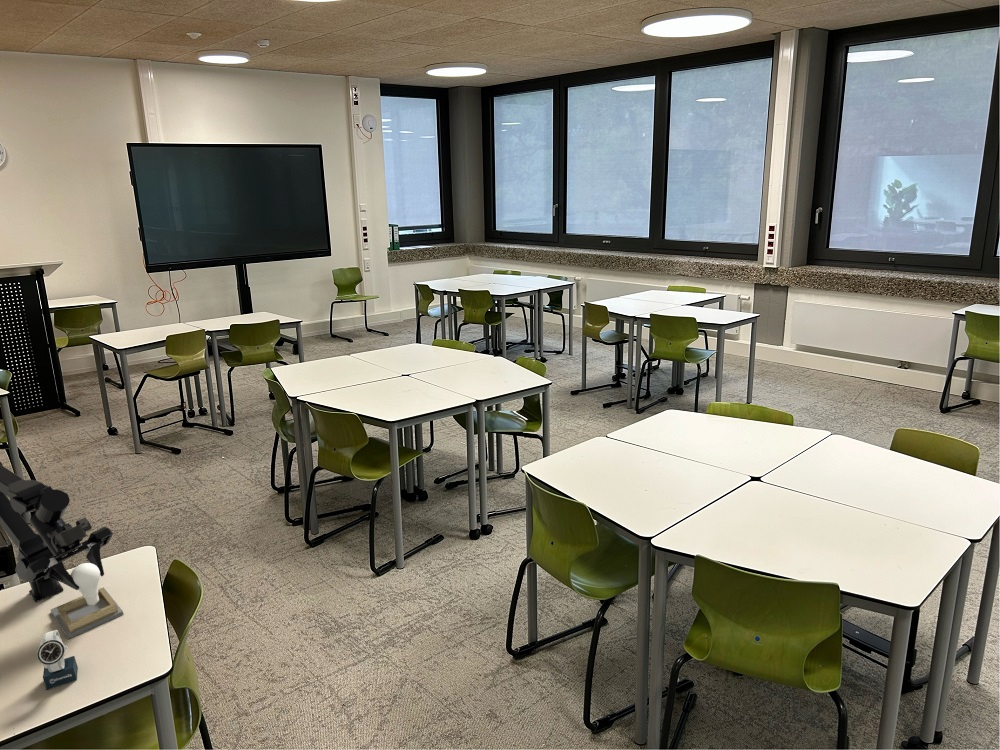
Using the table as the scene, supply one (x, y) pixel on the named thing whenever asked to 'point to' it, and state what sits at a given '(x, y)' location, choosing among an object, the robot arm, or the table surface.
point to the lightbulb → (87, 581)
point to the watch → (56, 661)
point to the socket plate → (85, 613)
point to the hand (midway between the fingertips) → (90, 582)
